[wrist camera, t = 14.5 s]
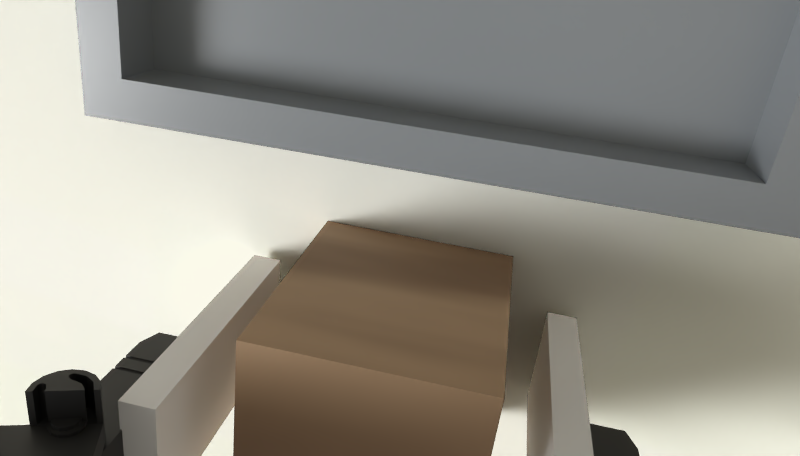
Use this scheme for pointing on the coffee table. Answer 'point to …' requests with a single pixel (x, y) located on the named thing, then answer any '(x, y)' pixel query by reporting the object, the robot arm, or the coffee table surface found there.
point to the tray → (482, 91)
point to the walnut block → (376, 351)
